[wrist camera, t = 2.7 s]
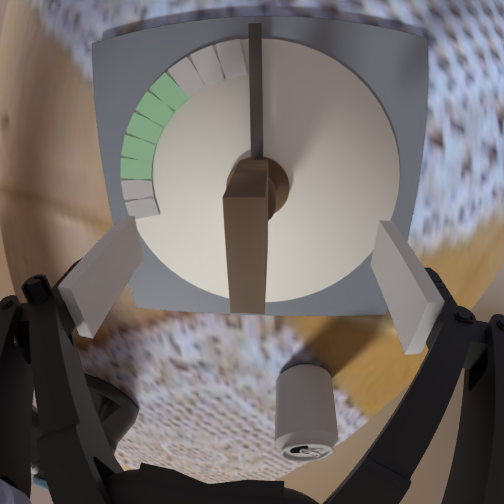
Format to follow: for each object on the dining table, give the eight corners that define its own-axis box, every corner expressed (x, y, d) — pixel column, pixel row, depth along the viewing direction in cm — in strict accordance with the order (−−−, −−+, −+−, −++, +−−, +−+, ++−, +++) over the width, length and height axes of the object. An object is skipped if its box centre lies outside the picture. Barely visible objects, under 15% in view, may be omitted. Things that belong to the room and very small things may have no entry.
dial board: (139, 301, 33) (134, 310, 32) (99, 44, 19) (89, 43, 18) (383, 307, 32) (387, 317, 30) (421, 40, 17) (430, 37, 16)
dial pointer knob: (228, 221, 26) (201, 311, 16) (221, 28, 18) (176, -20, 8) (288, 222, 25) (295, 314, 16) (289, 26, 17) (303, -28, 7)
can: (292, 354, 36) (293, 439, 26) (341, 367, 37) (352, 446, 27) (267, 384, 40) (263, 460, 29) (313, 395, 41) (316, 466, 30)
